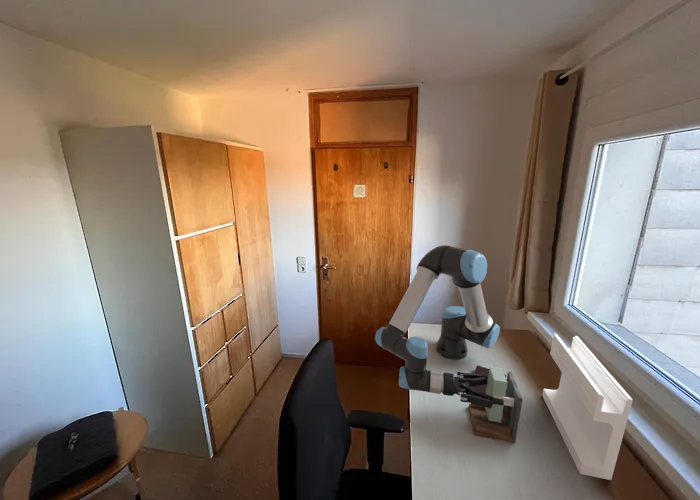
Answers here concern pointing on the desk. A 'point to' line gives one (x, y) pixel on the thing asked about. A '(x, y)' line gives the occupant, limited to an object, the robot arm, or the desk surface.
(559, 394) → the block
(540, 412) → the desk surface
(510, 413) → the slot board
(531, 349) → the desk surface
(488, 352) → the desk surface
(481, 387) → the book
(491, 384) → the grey-green tall block
